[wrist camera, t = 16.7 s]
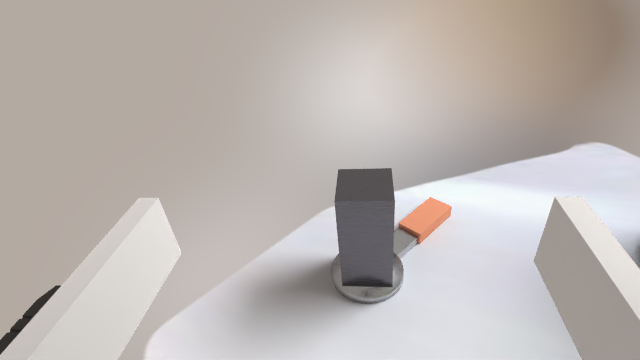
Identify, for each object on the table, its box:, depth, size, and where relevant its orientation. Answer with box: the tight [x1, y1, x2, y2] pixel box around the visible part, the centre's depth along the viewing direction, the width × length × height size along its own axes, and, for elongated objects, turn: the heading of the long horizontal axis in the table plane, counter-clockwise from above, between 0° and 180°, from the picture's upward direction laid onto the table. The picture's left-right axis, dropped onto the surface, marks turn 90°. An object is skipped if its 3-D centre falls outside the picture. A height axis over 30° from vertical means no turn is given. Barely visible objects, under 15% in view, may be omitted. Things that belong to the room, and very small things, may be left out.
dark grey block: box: [335, 168, 395, 287], centre depth 42 cm, size 6×6×13 cm
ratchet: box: [332, 197, 452, 304], centre depth 49 cm, size 22×9×4 cm, turn 133°
